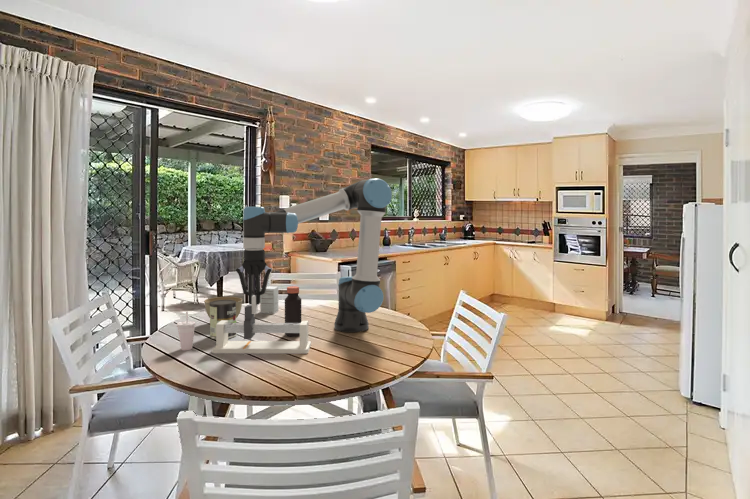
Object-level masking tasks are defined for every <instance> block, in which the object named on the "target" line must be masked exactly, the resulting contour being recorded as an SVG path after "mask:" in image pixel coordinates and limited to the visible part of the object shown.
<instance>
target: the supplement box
mask: <svg viewBox="0 0 750 499" xmlns="http://www.w3.org/2000/svg"><path fill="white" fill-rule="evenodd" d="M261 289H262V287H260V291H261ZM259 305H260V314H272V313H274V314H276V313H277V312H278V311H279V286H276V285H275V286H272V285H271V286H270V285H269V286H268V285H267V287H266V291H265V293H264V294H262V295H260V304H259Z"/></svg>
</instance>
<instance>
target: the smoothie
mask: <svg viewBox="0 0 750 499" xmlns="http://www.w3.org/2000/svg"><path fill="white" fill-rule="evenodd" d="M185 316H186V317H185V321H179V322H177V323H176V327H177V330H178V337H179V338H178V339H179V343H180V344H179V345H180V350H181V351H190V350H193V344H194V338H195V337H194V336H195V326H196V325H197V324H196V321H193V320H189V312H188V311H185Z"/></svg>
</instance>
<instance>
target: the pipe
mask: <svg viewBox="0 0 750 499" xmlns="http://www.w3.org/2000/svg"><path fill="white" fill-rule="evenodd" d="M224 333H236V334H244V322H236V323H226V324H224ZM252 333H255V334H285V333H300V323H285V322H255V323H252Z"/></svg>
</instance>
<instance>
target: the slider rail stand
mask: <svg viewBox="0 0 750 499" xmlns="http://www.w3.org/2000/svg"><path fill="white" fill-rule="evenodd" d="M226 323H228V320H221V321H220V322H219V323H217V324H216V339H215V340H216V341H215V342H216V345H215V346H214V347H213V348H211V349H212V351H211V352H212V354H307V353H308V354H309V352H310V349H311V346H312V341H311V340H309V320H301V323H300V336H299V340H288V341H287V340H270V341H269V340H229V339H228V333H224V324H226Z"/></svg>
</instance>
